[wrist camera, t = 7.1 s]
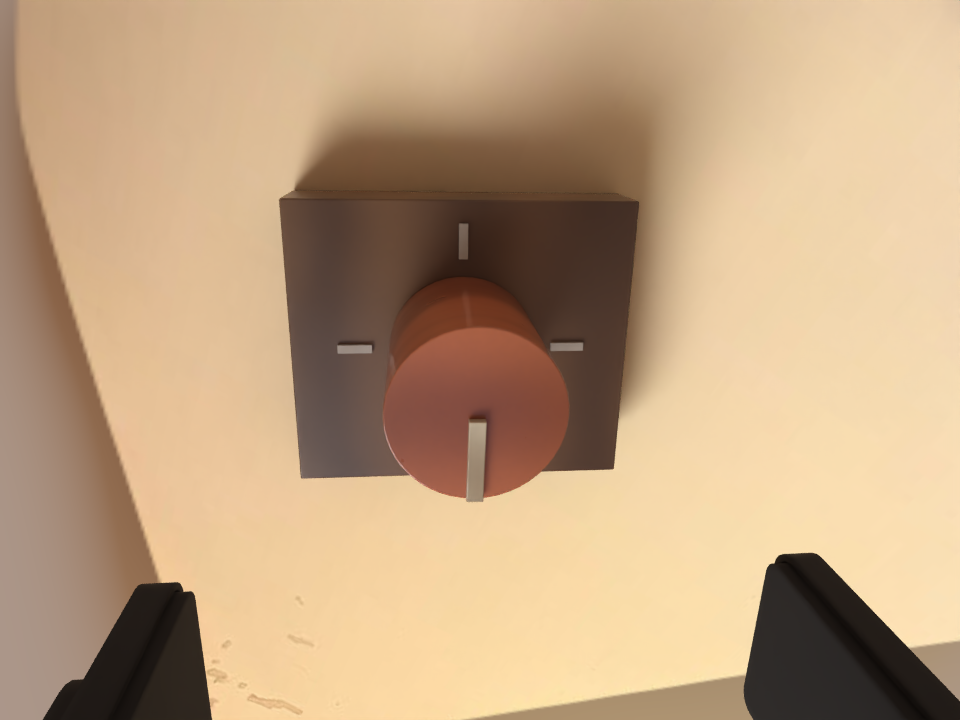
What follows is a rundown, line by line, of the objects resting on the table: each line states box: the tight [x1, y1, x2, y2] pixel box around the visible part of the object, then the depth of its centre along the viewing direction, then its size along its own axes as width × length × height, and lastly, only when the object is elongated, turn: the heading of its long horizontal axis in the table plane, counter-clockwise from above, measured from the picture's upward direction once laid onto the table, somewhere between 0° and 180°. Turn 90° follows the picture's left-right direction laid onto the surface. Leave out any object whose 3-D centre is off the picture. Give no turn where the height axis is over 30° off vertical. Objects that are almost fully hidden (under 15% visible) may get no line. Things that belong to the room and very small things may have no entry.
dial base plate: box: [279, 190, 639, 478], centre depth 30 cm, size 14×12×3 cm
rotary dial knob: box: [382, 277, 569, 502], centre depth 25 cm, size 6×6×7 cm
